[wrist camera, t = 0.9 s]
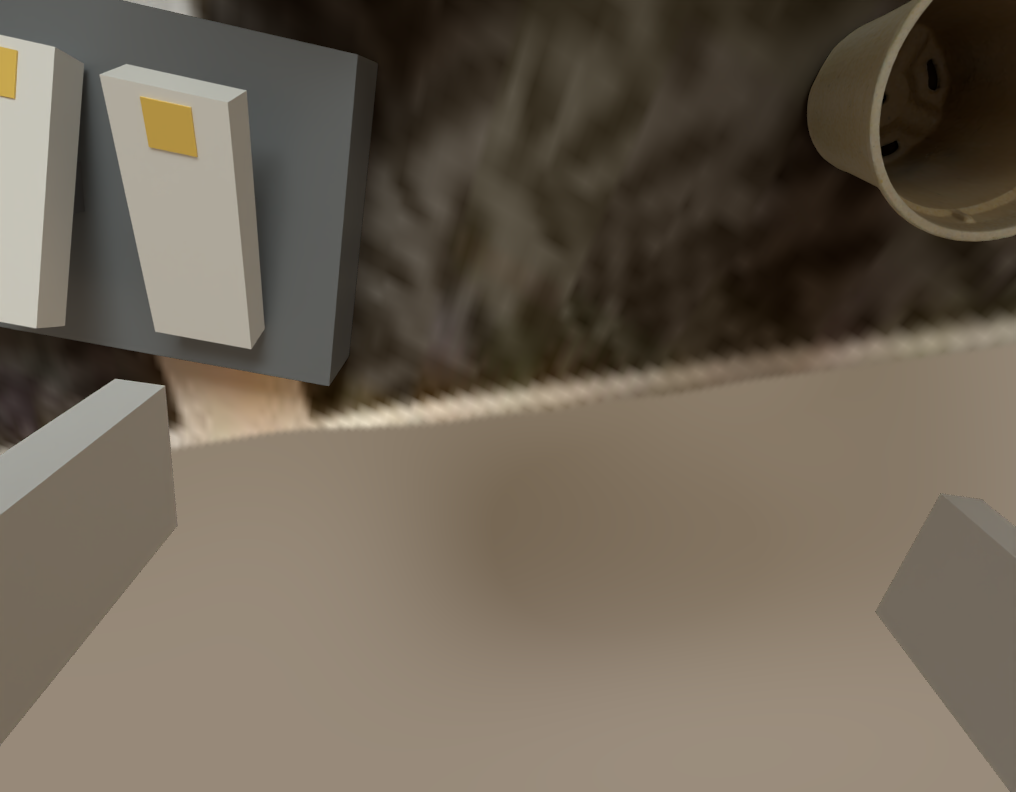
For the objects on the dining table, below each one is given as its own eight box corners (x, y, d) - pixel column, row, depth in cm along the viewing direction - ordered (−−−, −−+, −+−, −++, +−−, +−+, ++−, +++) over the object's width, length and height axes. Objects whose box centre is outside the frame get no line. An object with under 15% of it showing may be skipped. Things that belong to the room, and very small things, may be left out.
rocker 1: (-29, 39, 22) (-69, 19, 21) (84, 63, 23) (53, 46, 21) (-41, 306, 24) (-79, 308, 22) (65, 325, 24) (35, 328, 23)
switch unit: (-216, -73, 24) (-382, -117, 20) (378, 63, 26) (351, 52, 22) (-132, 270, 30) (-245, 297, 25) (348, 359, 32) (323, 398, 28)
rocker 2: (126, 63, 20) (97, 75, 19) (246, 90, 21) (226, 103, 19) (173, 311, 27) (154, 332, 25) (264, 328, 27) (250, 350, 26)
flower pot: (844, 249, 30) (965, 296, 22) (724, 108, 27) (813, 103, 19) (1021, 93, 27) (1234, 82, 19) (907, -83, 24) (1100, -180, 16)
